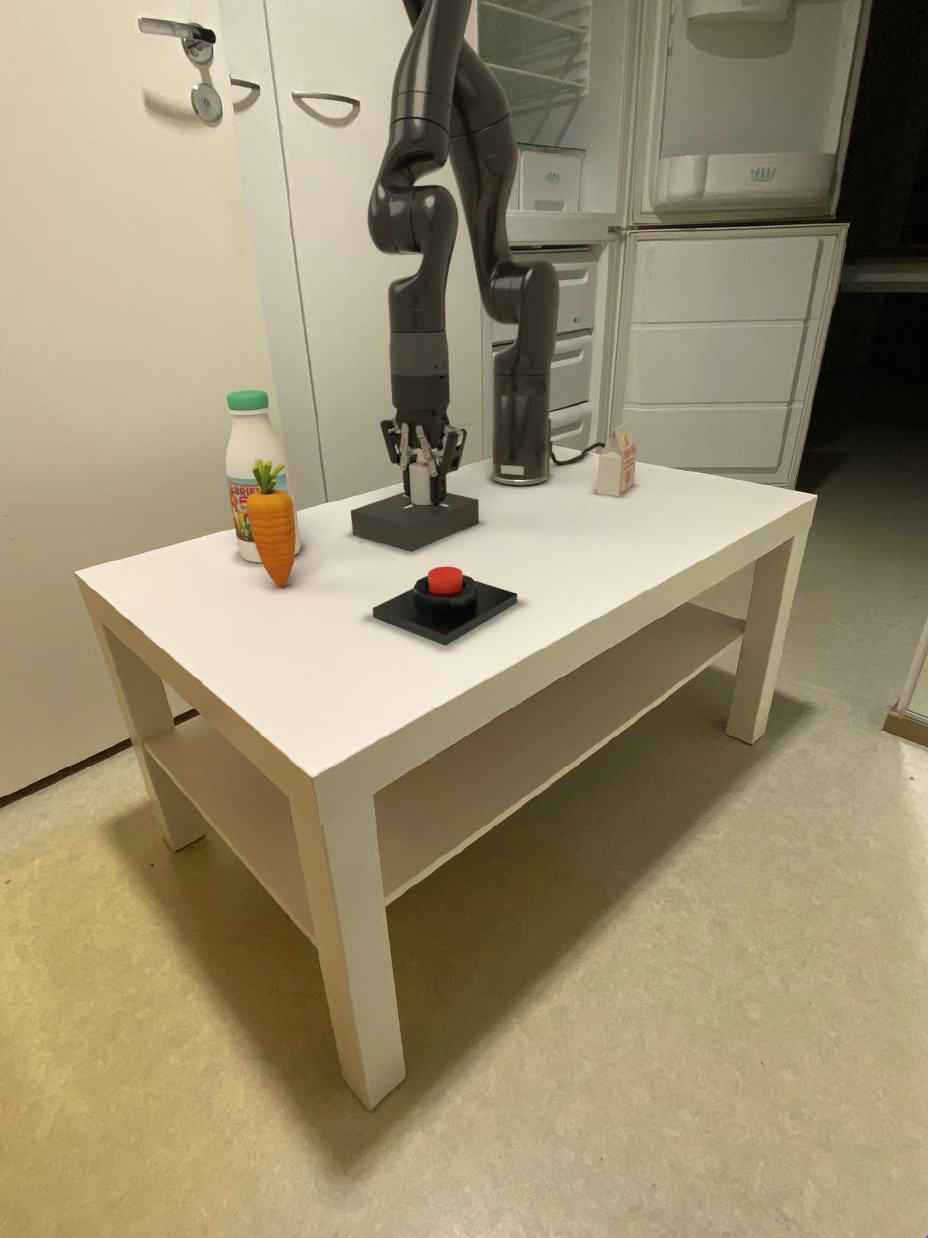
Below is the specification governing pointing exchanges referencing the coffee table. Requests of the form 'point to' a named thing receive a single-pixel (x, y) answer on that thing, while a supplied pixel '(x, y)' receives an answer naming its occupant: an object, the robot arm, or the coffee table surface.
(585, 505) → the coffee table surface
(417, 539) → the panel
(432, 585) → the power button
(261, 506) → the carrot
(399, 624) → the power switch
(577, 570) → the coffee table surface
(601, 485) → the milk carton
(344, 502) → the coffee table surface
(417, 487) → the timer knob
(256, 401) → the milk bottle
